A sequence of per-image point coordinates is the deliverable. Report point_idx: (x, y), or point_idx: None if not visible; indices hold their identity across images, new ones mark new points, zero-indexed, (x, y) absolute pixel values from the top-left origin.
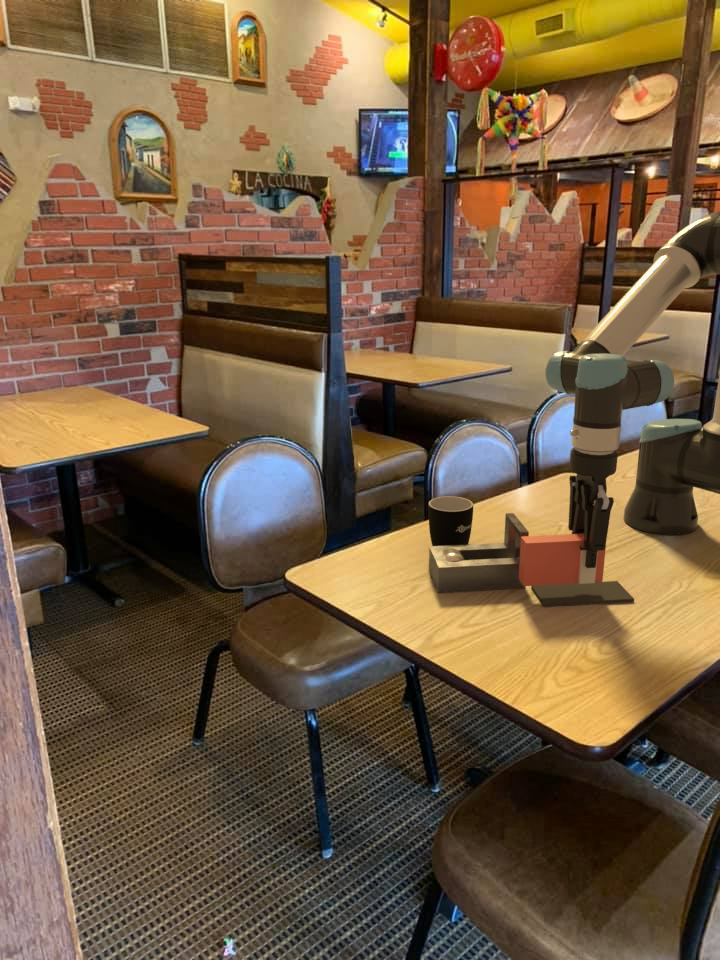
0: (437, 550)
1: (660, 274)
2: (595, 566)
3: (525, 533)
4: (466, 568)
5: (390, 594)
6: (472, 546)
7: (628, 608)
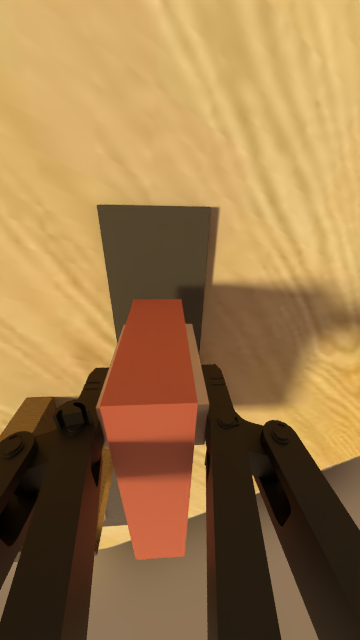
0: None
1: None
2: (218, 368)
3: (95, 543)
4: None
5: None
6: None
7: (236, 238)
